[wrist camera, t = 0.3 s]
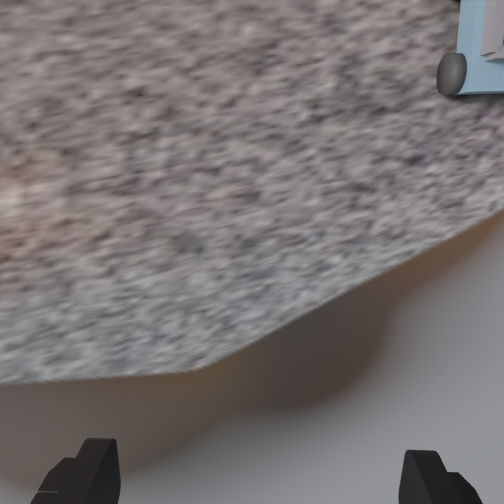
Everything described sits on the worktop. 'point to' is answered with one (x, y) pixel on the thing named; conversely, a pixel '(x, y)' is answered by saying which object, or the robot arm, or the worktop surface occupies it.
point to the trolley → (476, 51)
